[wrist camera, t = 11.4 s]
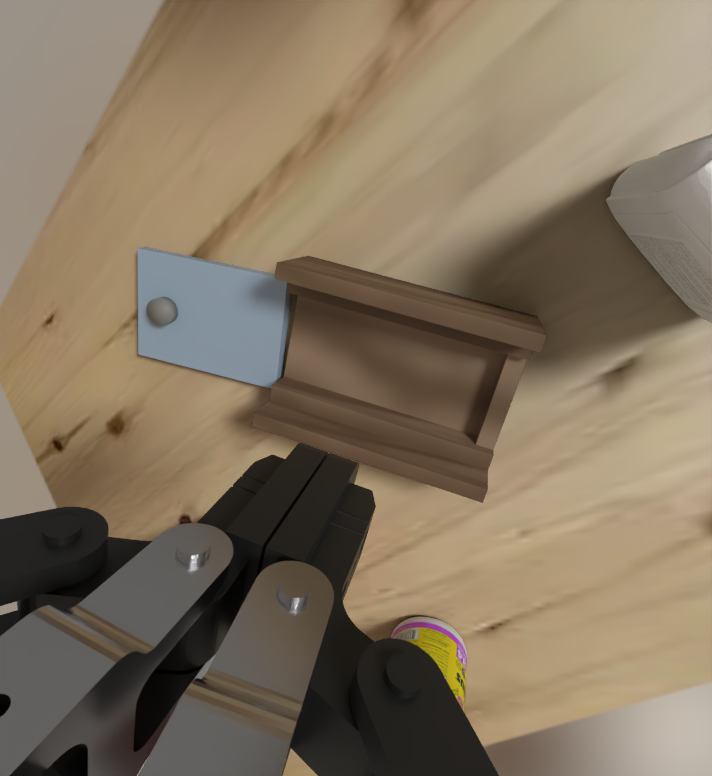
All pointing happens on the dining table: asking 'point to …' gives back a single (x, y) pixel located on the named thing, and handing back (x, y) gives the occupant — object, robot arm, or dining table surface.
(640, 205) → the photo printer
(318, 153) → the dining table surface
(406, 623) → the supplement bottle
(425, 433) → the box
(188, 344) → the lid
